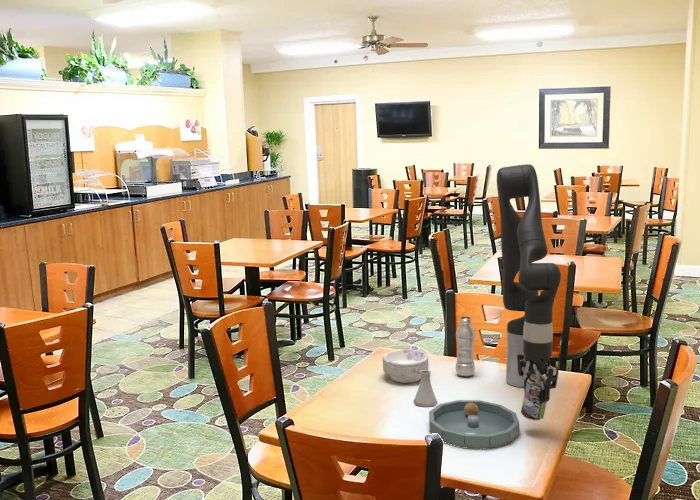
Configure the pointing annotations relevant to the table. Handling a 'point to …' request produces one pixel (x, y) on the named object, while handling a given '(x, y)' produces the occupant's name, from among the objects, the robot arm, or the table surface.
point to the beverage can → (533, 400)
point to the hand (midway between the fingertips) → (536, 397)
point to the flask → (425, 391)
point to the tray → (474, 437)
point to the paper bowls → (405, 365)
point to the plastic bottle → (465, 348)
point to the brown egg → (471, 409)
